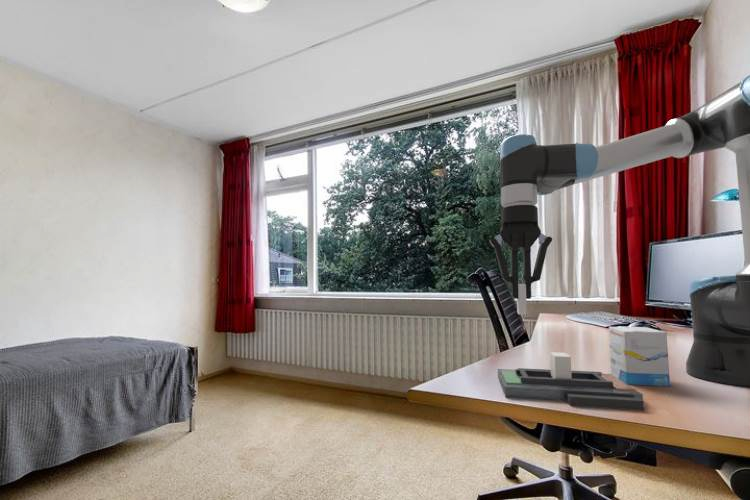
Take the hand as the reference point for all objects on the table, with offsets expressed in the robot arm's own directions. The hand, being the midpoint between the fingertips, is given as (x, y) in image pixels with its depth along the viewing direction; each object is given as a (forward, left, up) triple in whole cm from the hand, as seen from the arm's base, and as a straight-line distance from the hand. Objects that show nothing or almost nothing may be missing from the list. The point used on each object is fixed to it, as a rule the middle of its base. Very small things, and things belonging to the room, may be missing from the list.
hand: (521, 313), depth 79 cm
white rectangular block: (-7, 0, -13) cm, 15 cm away
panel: (-7, 0, -16) cm, 17 cm away
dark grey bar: (-12, +9, -16) cm, 22 cm away
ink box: (-26, -11, -16) cm, 33 cm away
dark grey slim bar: (-9, -10, -16) cm, 20 cm away
